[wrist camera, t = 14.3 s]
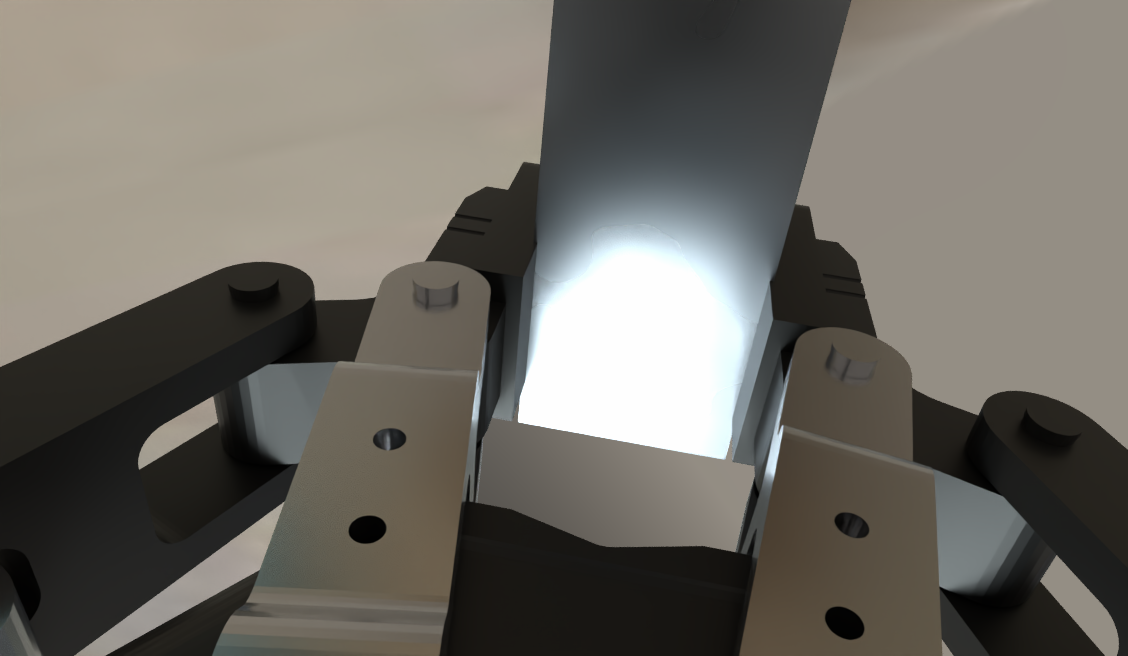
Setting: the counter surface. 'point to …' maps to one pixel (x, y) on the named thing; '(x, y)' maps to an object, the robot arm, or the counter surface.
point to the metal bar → (666, 207)
